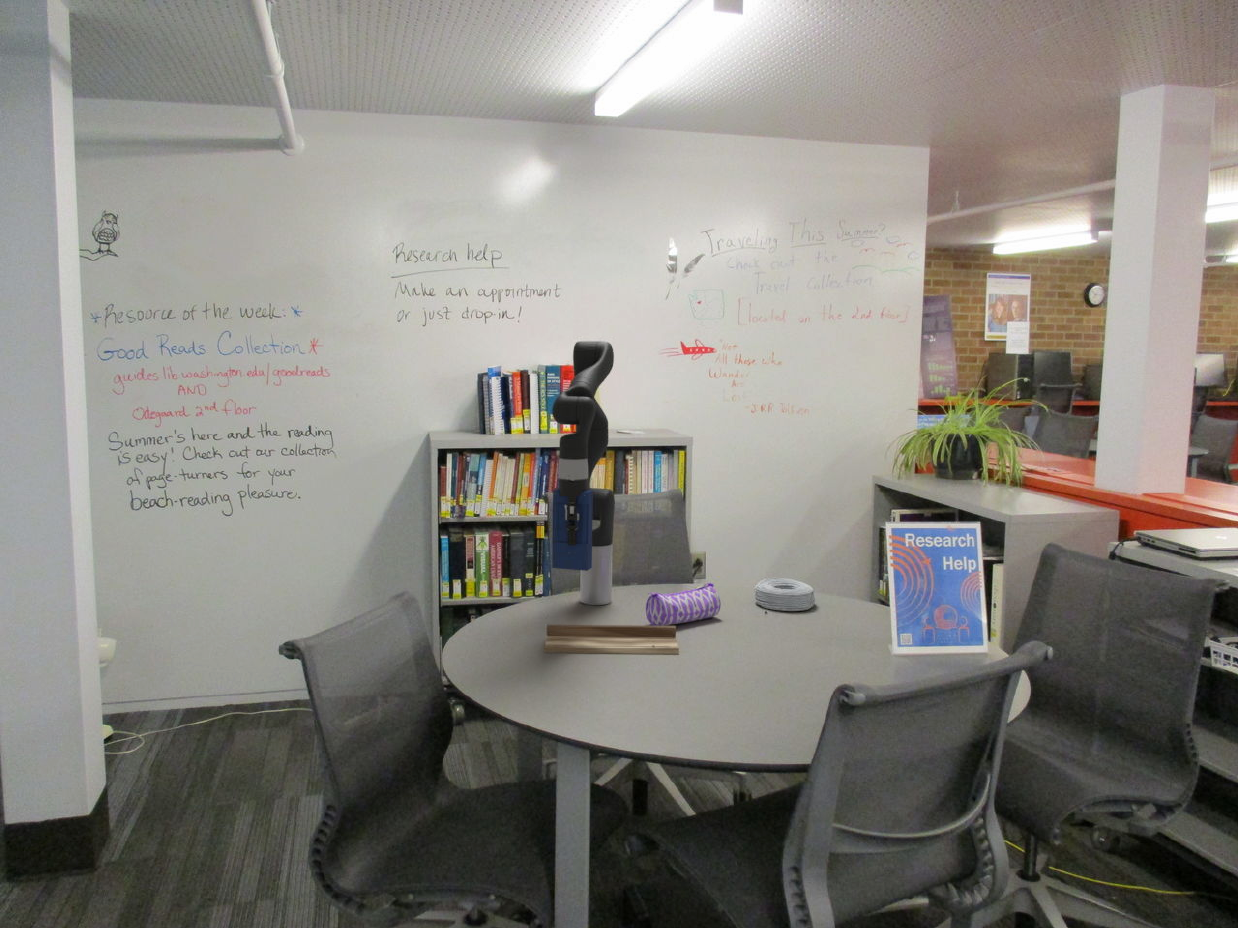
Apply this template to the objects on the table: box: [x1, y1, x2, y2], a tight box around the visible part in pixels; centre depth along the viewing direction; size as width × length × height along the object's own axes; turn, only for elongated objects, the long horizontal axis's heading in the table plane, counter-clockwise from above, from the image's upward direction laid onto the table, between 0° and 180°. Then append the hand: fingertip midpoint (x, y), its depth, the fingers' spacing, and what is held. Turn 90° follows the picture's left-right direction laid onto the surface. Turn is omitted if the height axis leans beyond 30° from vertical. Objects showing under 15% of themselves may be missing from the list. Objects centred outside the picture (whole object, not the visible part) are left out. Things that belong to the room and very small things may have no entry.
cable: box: [754, 577, 816, 612], centre depth 255 cm, size 18×18×6 cm
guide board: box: [544, 624, 680, 655], centre depth 213 cm, size 10×32×4 cm, turn 91°
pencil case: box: [645, 582, 722, 626], centre depth 236 cm, size 22×9×10 cm, turn 129°
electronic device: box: [551, 487, 593, 571], centre depth 220 cm, size 10×5×20 cm, turn 74°
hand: (572, 542), depth 221 cm, fingers closed on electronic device, 6 cm apart
